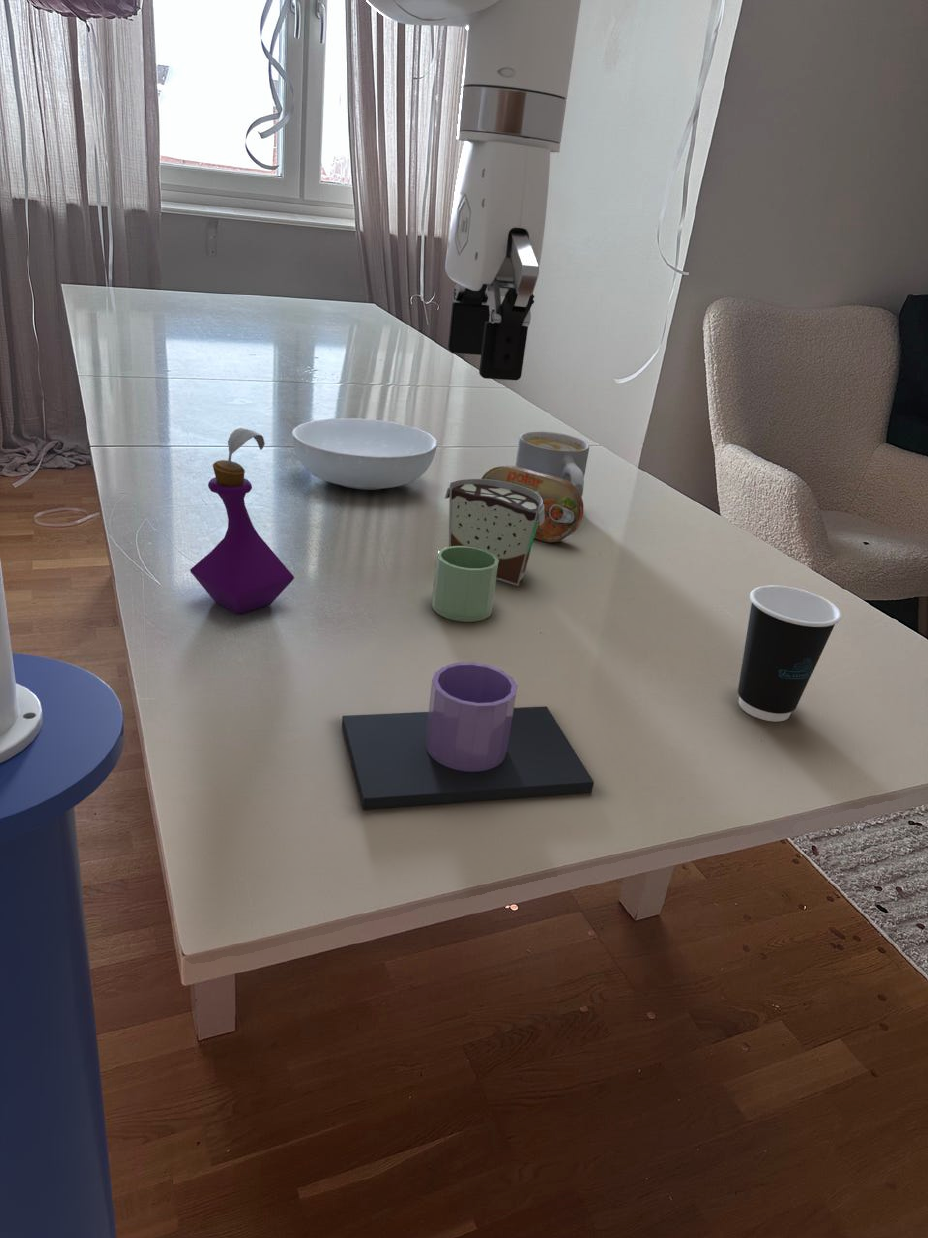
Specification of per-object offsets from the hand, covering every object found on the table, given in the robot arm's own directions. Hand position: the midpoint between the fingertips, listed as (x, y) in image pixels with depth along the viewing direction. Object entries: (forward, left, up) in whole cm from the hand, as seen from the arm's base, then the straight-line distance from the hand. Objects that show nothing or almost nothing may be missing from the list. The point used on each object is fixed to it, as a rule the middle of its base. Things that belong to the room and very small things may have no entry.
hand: (482, 364), depth 72 cm
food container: (+12, +24, -28) cm, 39 cm away
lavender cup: (-2, -14, -27) cm, 31 cm away
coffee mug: (+26, +44, -28) cm, 59 cm away
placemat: (-2, -14, -28) cm, 32 cm away
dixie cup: (+29, -9, -28) cm, 42 cm away
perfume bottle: (-18, +15, -28) cm, 37 cm away
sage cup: (+5, +13, -28) cm, 32 cm away
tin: (+20, +36, -28) cm, 50 cm away
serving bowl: (+1, +56, -28) cm, 63 cm away
